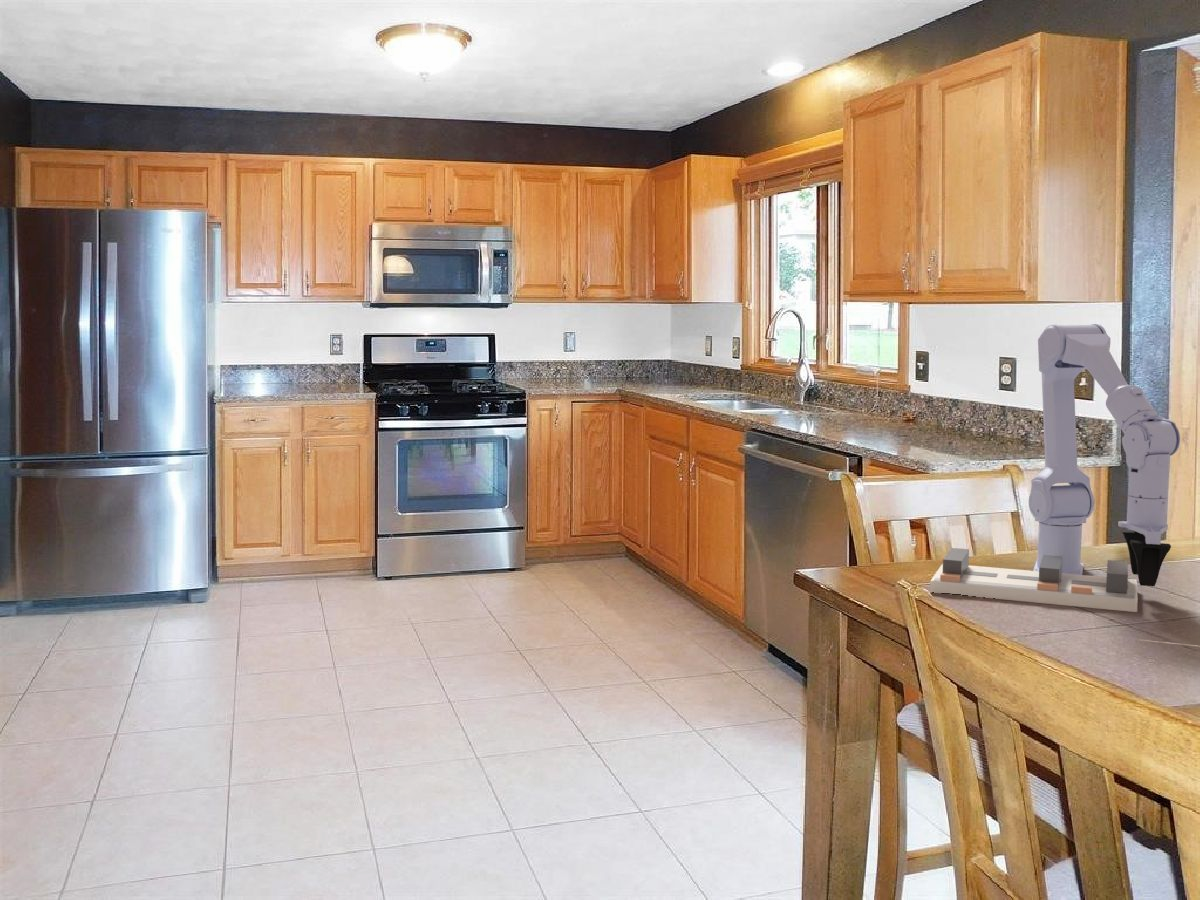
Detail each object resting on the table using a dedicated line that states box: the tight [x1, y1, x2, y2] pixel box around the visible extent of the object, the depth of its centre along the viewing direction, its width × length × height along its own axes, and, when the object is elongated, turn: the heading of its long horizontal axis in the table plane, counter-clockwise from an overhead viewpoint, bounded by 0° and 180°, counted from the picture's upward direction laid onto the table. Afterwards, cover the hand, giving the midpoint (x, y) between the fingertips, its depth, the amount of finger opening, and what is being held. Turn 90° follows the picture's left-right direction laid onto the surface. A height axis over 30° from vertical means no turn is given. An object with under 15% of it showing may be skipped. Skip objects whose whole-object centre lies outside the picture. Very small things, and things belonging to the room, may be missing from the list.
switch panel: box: [929, 563, 1139, 613], centre depth 184 cm, size 14×31×3 cm, turn 65°
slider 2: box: [1106, 559, 1129, 593], centre depth 179 cm, size 10×3×3 cm, turn 155°
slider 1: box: [942, 547, 970, 579], centre depth 190 cm, size 10×3×3 cm, turn 155°
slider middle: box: [1039, 555, 1062, 587], centre depth 184 cm, size 10×3×3 cm, turn 155°
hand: (1143, 579), depth 178 cm, fingers open, 7 cm apart
